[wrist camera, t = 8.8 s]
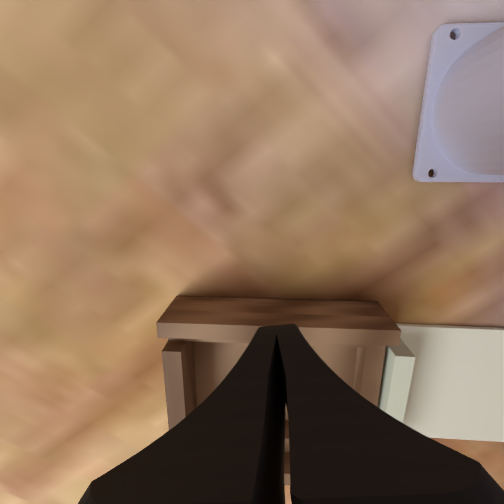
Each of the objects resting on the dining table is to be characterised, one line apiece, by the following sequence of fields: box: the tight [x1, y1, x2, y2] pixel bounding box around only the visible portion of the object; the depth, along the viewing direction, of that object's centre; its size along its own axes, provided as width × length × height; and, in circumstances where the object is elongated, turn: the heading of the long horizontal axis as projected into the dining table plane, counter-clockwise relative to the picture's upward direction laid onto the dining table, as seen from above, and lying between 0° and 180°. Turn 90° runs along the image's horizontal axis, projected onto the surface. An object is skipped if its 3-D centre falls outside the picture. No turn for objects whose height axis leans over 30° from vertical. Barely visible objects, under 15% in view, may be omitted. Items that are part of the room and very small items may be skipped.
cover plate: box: [377, 323, 504, 442], centre depth 20 cm, size 11×9×3 cm
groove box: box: [157, 296, 401, 485], centre depth 20 cm, size 14×12×4 cm
